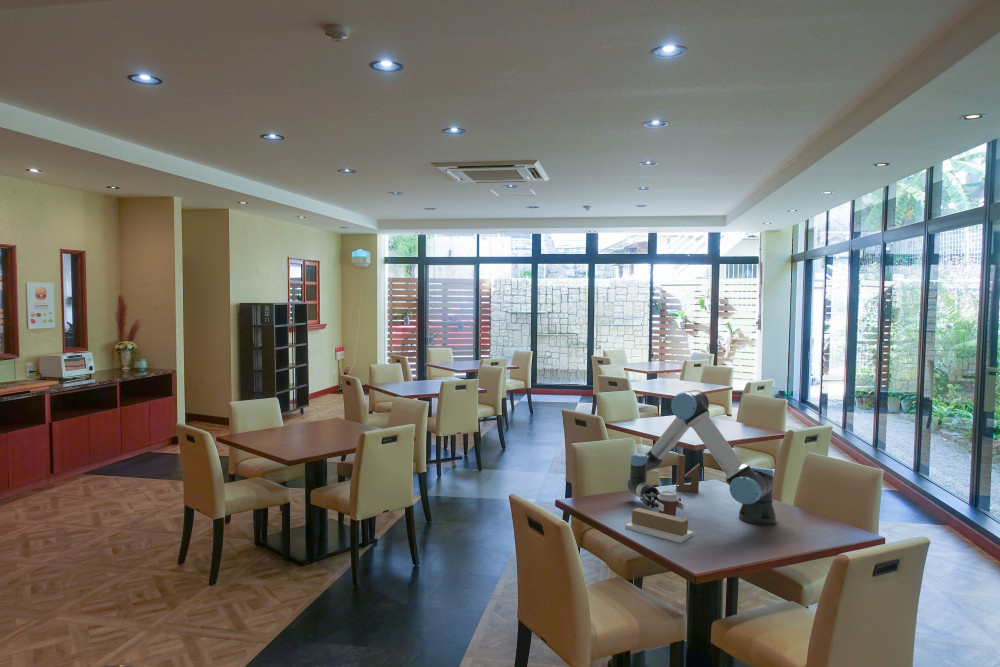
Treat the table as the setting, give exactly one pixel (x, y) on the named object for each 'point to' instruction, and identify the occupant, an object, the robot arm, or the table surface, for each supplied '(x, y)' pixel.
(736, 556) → the table surface
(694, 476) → the brown wooden angular stand
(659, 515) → the stand
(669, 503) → the coffee cup
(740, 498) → the robot arm
